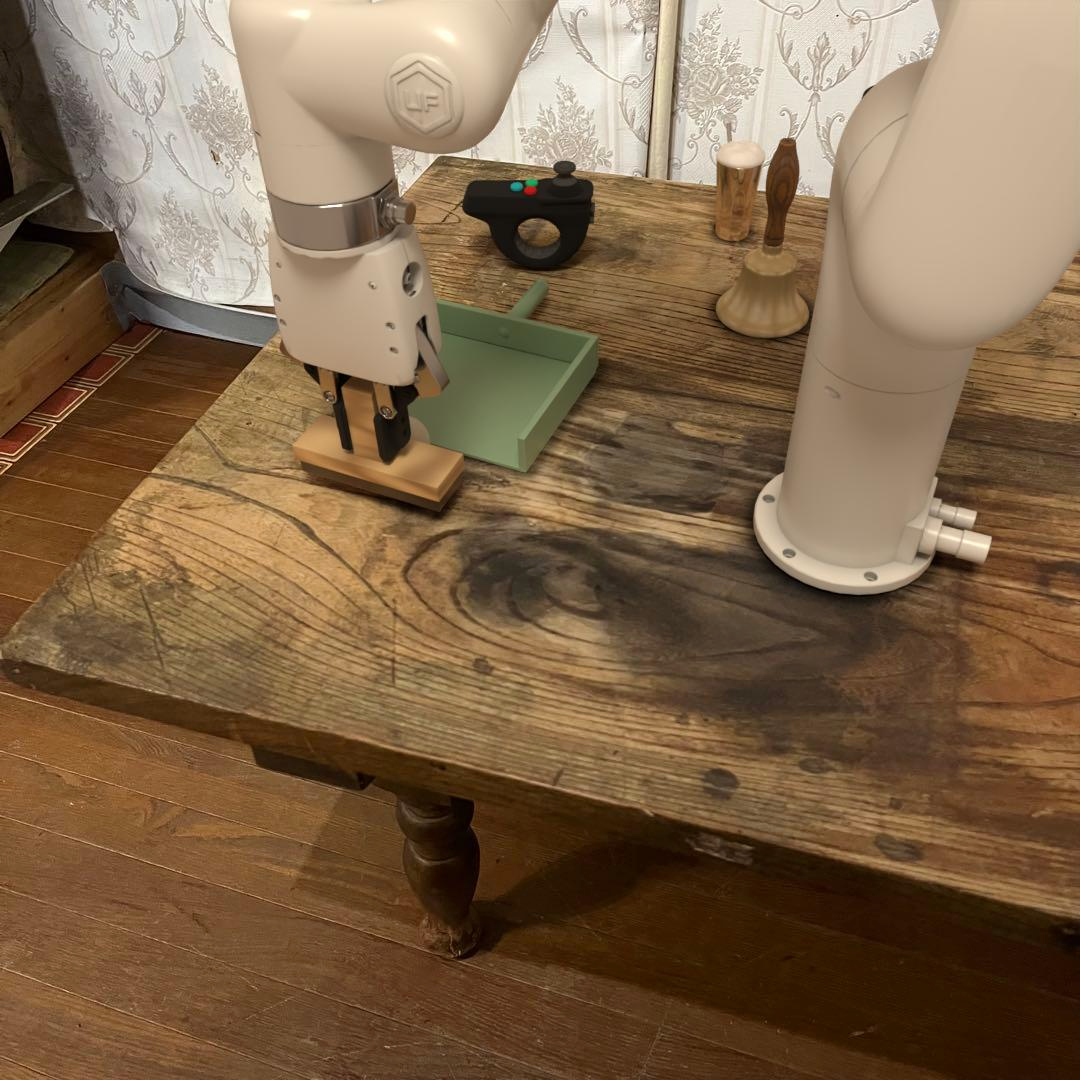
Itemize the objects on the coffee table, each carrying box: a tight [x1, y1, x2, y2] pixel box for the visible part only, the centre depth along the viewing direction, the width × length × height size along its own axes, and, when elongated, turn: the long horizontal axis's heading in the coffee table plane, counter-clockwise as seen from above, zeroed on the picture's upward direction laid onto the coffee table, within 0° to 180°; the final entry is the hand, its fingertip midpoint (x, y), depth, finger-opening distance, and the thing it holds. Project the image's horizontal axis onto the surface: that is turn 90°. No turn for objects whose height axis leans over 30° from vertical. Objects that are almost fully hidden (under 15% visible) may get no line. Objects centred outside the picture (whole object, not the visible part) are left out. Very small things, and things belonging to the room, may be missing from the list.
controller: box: [461, 160, 596, 270], centre depth 97 cm, size 4×12×10 cm, turn 86°
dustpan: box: [331, 279, 600, 474], centre depth 87 cm, size 22×17×3 cm
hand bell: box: [715, 137, 810, 339], centre depth 88 cm, size 8×8×16 cm
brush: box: [292, 376, 465, 513], centre depth 73 cm, size 12×4×9 cm, turn 66°
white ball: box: [409, 416, 430, 444], centre depth 79 cm, size 4×4×4 cm
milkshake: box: [715, 121, 766, 242], centre depth 100 cm, size 5×5×10 cm
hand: (376, 442), depth 74 cm, fingers closed on brush, 2 cm apart
